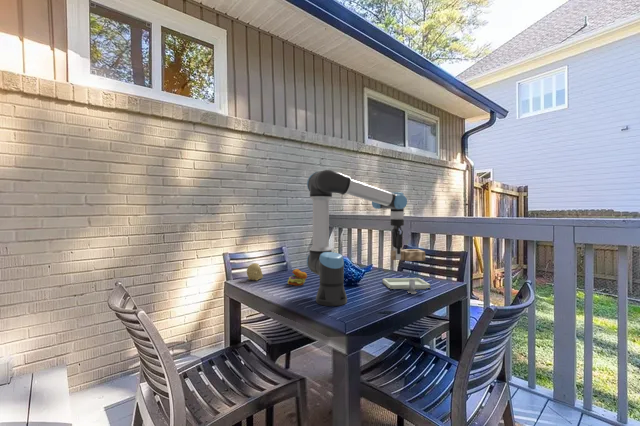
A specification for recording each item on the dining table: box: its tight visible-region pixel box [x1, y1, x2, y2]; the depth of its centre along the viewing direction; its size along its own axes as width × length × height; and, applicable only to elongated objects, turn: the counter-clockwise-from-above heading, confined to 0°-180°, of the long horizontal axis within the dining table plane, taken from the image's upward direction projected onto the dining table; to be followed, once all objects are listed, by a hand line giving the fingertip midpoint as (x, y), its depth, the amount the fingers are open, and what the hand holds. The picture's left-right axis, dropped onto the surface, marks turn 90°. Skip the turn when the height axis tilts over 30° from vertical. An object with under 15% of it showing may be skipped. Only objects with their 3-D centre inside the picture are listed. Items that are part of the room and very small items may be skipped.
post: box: [406, 279, 418, 295], centre depth 175 cm, size 5×5×7 cm
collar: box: [390, 248, 426, 262], centre depth 189 cm, size 18×11×5 cm, turn 93°
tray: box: [382, 277, 432, 290], centre depth 191 cm, size 23×17×2 cm
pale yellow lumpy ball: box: [246, 262, 264, 281], centre depth 205 cm, size 10×12×11 cm
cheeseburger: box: [287, 268, 308, 287], centre depth 194 cm, size 10×11×10 cm
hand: (397, 258), depth 189 cm, fingers closed on collar, 3 cm apart
